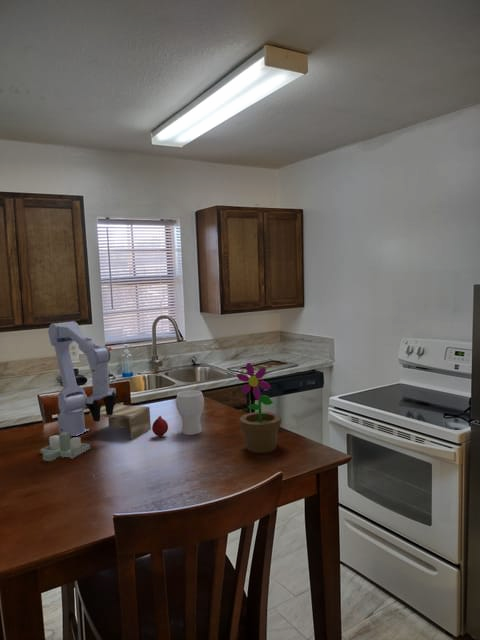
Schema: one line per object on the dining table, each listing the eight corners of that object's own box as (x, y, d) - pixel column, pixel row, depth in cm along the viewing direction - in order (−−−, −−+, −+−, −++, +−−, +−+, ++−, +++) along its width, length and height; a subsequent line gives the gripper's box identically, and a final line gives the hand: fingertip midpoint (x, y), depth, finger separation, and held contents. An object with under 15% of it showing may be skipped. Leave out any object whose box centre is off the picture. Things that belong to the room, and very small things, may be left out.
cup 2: (204, 435, 170) (202, 396, 168) (175, 436, 170) (173, 397, 169) (206, 426, 180) (204, 389, 179) (180, 427, 180) (177, 390, 179)
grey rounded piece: (48, 450, 161) (46, 438, 160) (54, 446, 164) (53, 434, 164) (55, 451, 160) (54, 438, 159) (62, 447, 163) (61, 435, 162)
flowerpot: (233, 451, 153) (228, 363, 150) (252, 437, 166) (248, 356, 163) (272, 457, 146) (268, 365, 143) (288, 442, 159) (285, 357, 156)
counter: (91, 435, 176) (89, 413, 175) (110, 425, 187) (109, 404, 186) (133, 439, 169) (132, 416, 168) (150, 429, 180) (149, 406, 179)
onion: (160, 440, 167) (158, 419, 166) (149, 437, 170) (148, 417, 169) (171, 435, 171) (170, 415, 171) (161, 433, 175) (159, 413, 174)
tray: (30, 459, 154) (28, 440, 154) (59, 445, 167) (57, 428, 166) (63, 463, 149) (62, 443, 149) (90, 449, 162) (89, 431, 162)
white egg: (68, 452, 158) (68, 439, 157) (75, 449, 161) (74, 436, 160) (76, 453, 156) (76, 440, 156) (83, 450, 160) (82, 437, 159)
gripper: (97, 386, 155) (100, 424, 157) (121, 376, 169) (124, 412, 170) (80, 385, 158) (83, 423, 159) (105, 376, 171) (108, 411, 172)
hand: (103, 417), depth 165 cm, fingers open, 7 cm apart
